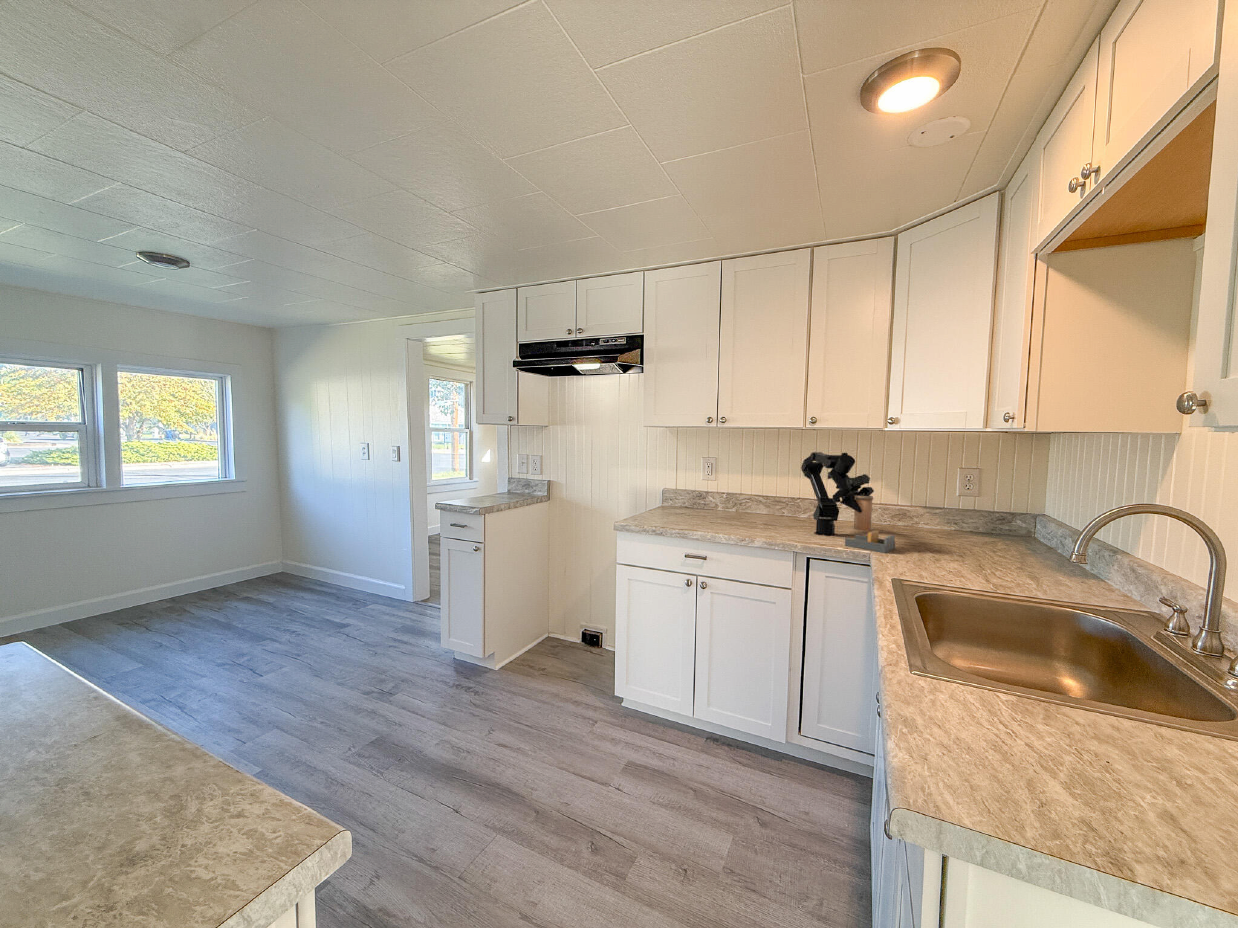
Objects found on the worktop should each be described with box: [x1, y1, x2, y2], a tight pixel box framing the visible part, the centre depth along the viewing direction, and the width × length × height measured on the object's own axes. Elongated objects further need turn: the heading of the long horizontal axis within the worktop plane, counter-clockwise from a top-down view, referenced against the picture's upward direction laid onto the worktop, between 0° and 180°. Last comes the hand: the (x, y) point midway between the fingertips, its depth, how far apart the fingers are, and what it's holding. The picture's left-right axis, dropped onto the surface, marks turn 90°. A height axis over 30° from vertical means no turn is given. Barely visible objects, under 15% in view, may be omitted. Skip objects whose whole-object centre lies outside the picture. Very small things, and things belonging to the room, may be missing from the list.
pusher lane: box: [844, 534, 896, 554], centre depth 188 cm, size 15×10×6 cm
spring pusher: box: [867, 529, 880, 543], centre depth 187 cm, size 1×8×6 cm, turn 133°
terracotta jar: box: [853, 495, 874, 532], centre depth 190 cm, size 6×6×13 cm
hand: (866, 511), depth 189 cm, fingers closed on terracotta jar, 6 cm apart
